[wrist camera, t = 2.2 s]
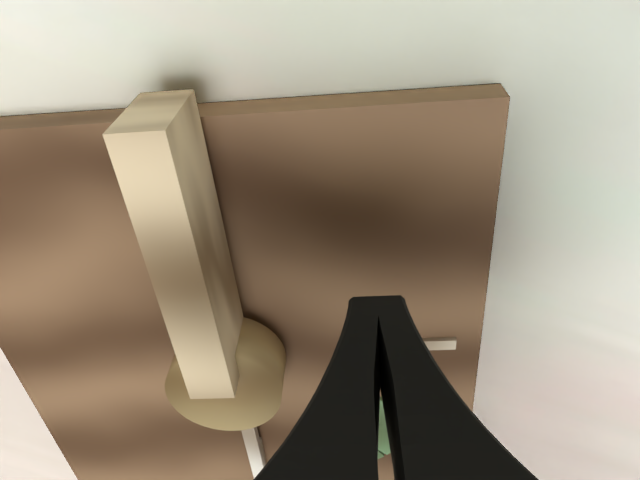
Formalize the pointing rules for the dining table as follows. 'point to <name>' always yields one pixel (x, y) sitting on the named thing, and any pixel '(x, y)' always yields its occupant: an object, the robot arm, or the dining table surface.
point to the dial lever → (194, 270)
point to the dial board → (244, 260)
